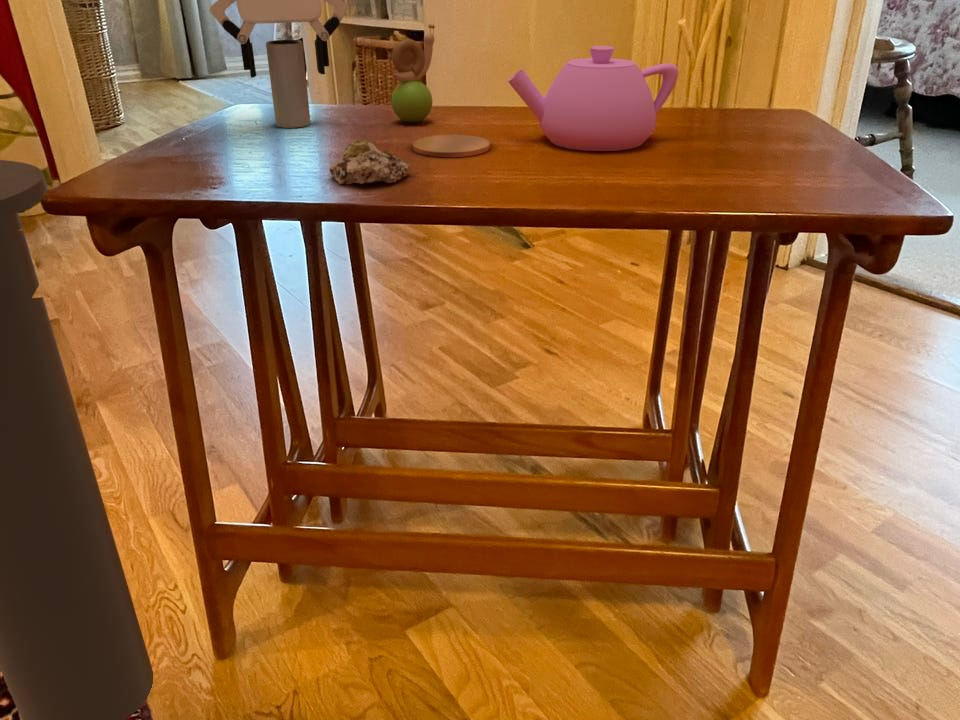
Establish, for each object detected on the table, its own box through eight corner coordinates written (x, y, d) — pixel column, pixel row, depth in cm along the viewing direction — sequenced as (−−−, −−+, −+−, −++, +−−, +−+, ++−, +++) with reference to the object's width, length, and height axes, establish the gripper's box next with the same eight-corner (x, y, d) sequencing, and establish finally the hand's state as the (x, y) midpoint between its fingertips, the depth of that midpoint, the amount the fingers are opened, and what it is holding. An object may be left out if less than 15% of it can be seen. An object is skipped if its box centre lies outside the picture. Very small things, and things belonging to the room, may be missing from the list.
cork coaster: (421, 160, 87) (421, 154, 87) (406, 142, 95) (406, 137, 94) (499, 154, 89) (499, 149, 89) (478, 137, 97) (478, 132, 97)
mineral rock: (421, 161, 77) (340, 143, 74) (411, 204, 79) (331, 188, 76) (402, 141, 86) (329, 125, 84) (393, 179, 88) (322, 165, 85)
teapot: (504, 129, 101) (505, 40, 96) (658, 127, 101) (667, 39, 96) (510, 154, 89) (511, 54, 84) (685, 152, 89) (697, 53, 84)
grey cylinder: (307, 128, 102) (298, 43, 97) (272, 128, 102) (261, 43, 97) (313, 121, 106) (305, 39, 101) (279, 121, 106) (269, 39, 101)
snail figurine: (446, 122, 105) (444, 25, 99) (405, 128, 102) (400, 28, 96) (425, 115, 109) (422, 22, 103) (385, 121, 106) (379, 25, 100)
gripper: (339, -81, 98) (351, 67, 106) (194, -80, 94) (218, 73, 102) (347, -82, 92) (358, 75, 100) (191, -82, 88) (217, 82, 96)
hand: (287, 73), depth 101 cm, fingers open, 8 cm apart
